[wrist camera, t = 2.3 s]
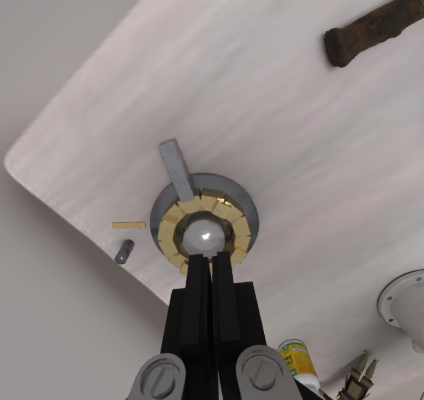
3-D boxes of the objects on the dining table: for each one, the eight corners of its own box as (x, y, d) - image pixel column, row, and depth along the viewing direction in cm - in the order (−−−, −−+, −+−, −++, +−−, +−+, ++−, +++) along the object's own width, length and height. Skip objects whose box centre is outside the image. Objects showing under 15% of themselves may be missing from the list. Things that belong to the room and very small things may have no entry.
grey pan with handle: (256, 249, 38) (260, 265, 34) (180, 271, 39) (178, 288, 36) (215, 123, 30) (216, 127, 27) (124, 155, 32) (114, 163, 28)
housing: (268, 251, 40) (276, 271, 35) (146, 285, 42) (138, 308, 38) (240, 157, 33) (245, 168, 29) (99, 204, 36) (83, 220, 32)
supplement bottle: (299, 358, 50) (318, 415, 41) (274, 354, 50) (288, 411, 41) (309, 340, 48) (332, 396, 39) (283, 336, 48) (300, 392, 39)
